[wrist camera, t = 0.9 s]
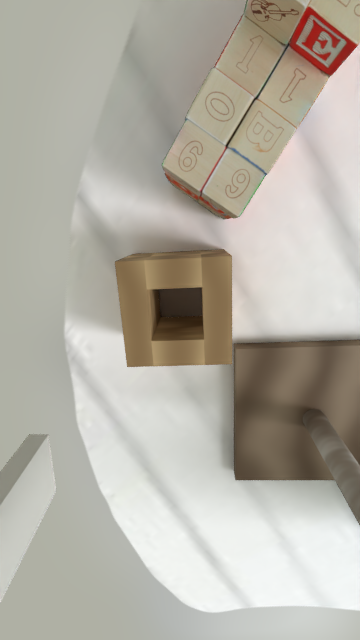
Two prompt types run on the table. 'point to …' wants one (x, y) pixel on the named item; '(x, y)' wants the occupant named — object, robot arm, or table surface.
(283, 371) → the board
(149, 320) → the bead
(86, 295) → the table surface
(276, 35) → the stack of blocks
